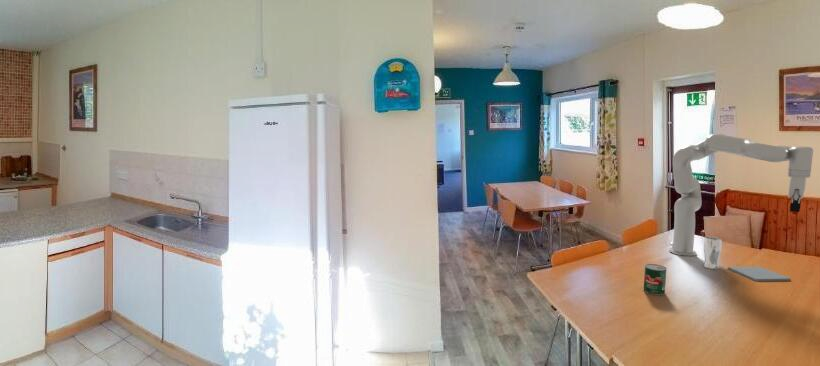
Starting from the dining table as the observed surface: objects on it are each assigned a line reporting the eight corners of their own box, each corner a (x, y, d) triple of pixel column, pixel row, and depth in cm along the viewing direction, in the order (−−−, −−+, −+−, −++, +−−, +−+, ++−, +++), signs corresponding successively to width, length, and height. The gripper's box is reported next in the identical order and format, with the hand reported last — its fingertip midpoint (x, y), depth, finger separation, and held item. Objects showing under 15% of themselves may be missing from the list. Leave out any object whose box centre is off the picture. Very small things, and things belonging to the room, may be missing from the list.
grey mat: (727, 269, 199) (727, 267, 198) (759, 268, 199) (760, 266, 199) (755, 281, 183) (755, 279, 183) (790, 280, 183) (790, 278, 183)
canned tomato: (645, 294, 170) (646, 268, 169) (641, 287, 178) (643, 263, 176) (666, 296, 168) (668, 270, 166) (662, 289, 175) (664, 265, 174)
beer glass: (713, 265, 205) (716, 236, 203) (722, 269, 198) (725, 240, 196) (699, 264, 205) (701, 236, 203) (707, 269, 198) (710, 239, 197)
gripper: (788, 171, 194) (784, 206, 197) (787, 174, 182) (783, 211, 184) (810, 172, 189) (806, 208, 191) (810, 175, 177) (805, 214, 179)
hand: (794, 210), depth 188 cm, fingers open, 9 cm apart
